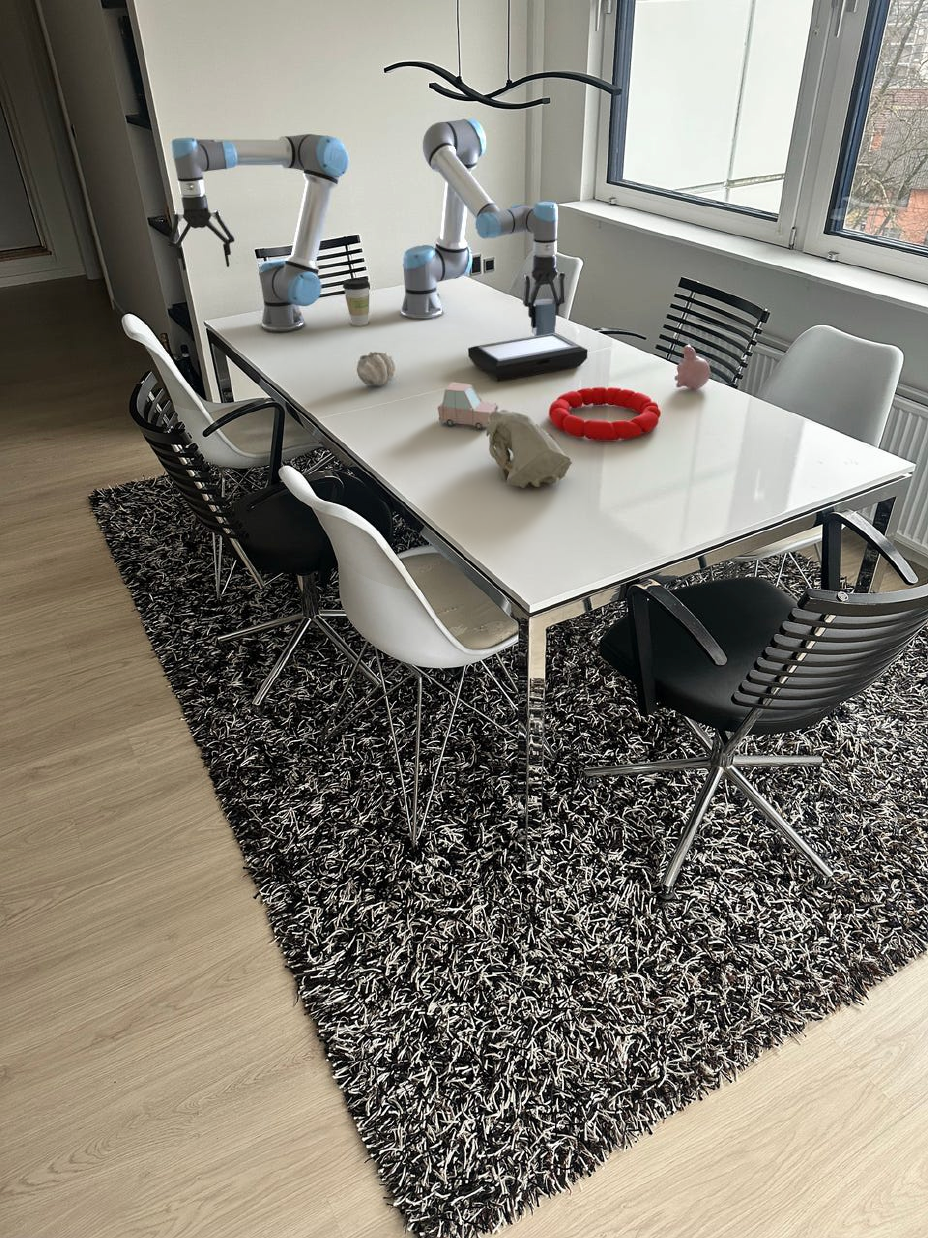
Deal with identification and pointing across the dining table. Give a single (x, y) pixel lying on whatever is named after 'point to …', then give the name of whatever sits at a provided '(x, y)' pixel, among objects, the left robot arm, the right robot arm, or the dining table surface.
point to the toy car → (465, 406)
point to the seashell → (375, 368)
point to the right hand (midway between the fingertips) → (543, 325)
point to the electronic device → (527, 356)
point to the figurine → (692, 370)
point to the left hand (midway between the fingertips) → (206, 267)
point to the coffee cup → (357, 300)
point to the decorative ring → (604, 428)
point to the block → (544, 317)
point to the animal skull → (525, 450)
